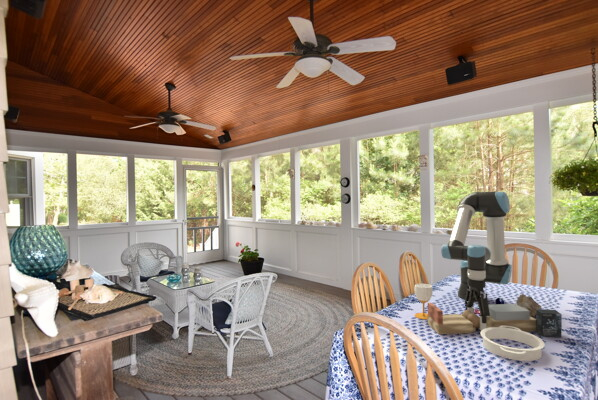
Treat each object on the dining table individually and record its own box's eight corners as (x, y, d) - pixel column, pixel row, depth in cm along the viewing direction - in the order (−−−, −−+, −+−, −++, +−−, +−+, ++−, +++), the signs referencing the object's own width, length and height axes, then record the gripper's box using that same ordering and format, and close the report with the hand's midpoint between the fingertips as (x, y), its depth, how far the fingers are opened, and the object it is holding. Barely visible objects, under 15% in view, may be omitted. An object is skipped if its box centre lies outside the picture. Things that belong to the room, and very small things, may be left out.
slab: (483, 312, 166) (483, 304, 166) (515, 311, 167) (515, 303, 166) (495, 320, 156) (495, 311, 156) (529, 319, 157) (529, 310, 156)
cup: (432, 314, 179) (432, 284, 179) (433, 320, 171) (433, 288, 170) (414, 312, 182) (414, 282, 182) (414, 318, 174) (414, 287, 173)
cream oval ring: (550, 372, 121) (550, 359, 121) (479, 358, 132) (479, 346, 132) (540, 341, 146) (540, 330, 146) (481, 331, 157) (481, 321, 157)
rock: (530, 323, 171) (545, 310, 168) (509, 305, 177) (524, 292, 174) (530, 320, 179) (545, 307, 176) (510, 302, 184) (524, 290, 181)
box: (541, 336, 150) (541, 312, 150) (535, 331, 155) (535, 308, 155) (562, 338, 148) (562, 313, 148) (555, 332, 154) (555, 309, 153)
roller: (467, 322, 166) (459, 315, 166) (474, 314, 166) (466, 307, 166) (478, 330, 156) (470, 323, 156) (486, 322, 156) (478, 315, 156)
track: (427, 323, 166) (427, 302, 166) (519, 321, 168) (519, 300, 168) (438, 334, 154) (438, 311, 154) (537, 331, 156) (537, 308, 156)
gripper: (456, 272, 172) (457, 316, 172) (482, 284, 149) (482, 335, 149) (471, 272, 172) (471, 316, 172) (499, 284, 149) (499, 334, 150)
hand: (476, 325), depth 161 cm, fingers closed on roller, 10 cm apart
